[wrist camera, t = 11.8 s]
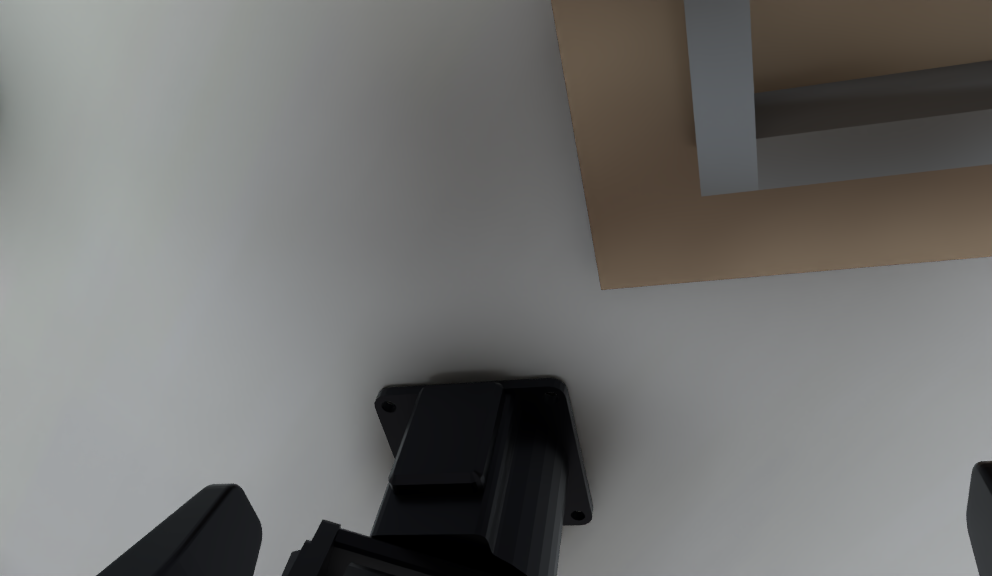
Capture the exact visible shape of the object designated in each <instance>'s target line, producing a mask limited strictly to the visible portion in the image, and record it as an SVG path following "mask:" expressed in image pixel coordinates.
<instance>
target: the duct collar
mask: <svg viewBox="0 0 992 576" xmlns="http://www.w3.org/2000/svg"><path fill="white" fill-rule="evenodd" d="M551 4H552V10H553V15H554V21H555V27H556V33H557V38H558V44H559V50H560V56H561V61H562V67H563V73H564V78H565V84H566V90H567V96H568V101H569V107H570V113H571V119H572V124H573V130H574V136H575V142H576V147H577V153H578V159H579V165H580V170H581V176H582V182H583V188H584V193H585V199H586V205H587V211H588V216H589V222H590V228H591V234H592V239H593V245H594V251H595V257H596V262H597V268H598V274H599V280H600V285H601V290H607V289H618V288H630V287H642V286H653V285H665V284H676V283H688V282H700V281H711V280H723V279H735V278H746V277H758V276H769V275H781V274H793V273H804V272H816V271H828V270H839V269H851V268H862V267H874V266H886V265H897V264H909V263H921V262H932V261H944V260H955V259H967V258H979V257H990V256H992V0H551Z"/></svg>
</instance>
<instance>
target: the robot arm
mask: <svg viewBox="0 0 992 576" xmlns="http://www.w3.org/2000/svg"><path fill="white" fill-rule="evenodd" d="M548 392H552V393H555V394H556V395H555V396H550V395H548V394H546V393H548ZM387 401H390V402H392V403H394V404H395V405H393V404H389V403H388V402H387ZM374 404H375V409H376V411H377V414H378V417H379V419H380V422H381V424H382V427H383V429H384V432H385V435H386V437H387V440H388V442H389V445H390V448H391V450H392V453H393V455H394V458H395V461H394V464H393V467H392V470H391V472H390V475H389V483H388V486H387V489H386V491H385V494H384V497H383V500H382V503H381V505H380V508H379V511H378V514H377V517H376V520H375V522H374V525H373V528H372V531H371V534H370V536H369V537H368V536H365V535H362V534H359V533H355V532H352V531H349V530H345V529H342V528H341V525H340V524H337V523H333V522H330V521H327V520H322V522H321V524H320V526H319V528H318V530H317V532H316V533H315V535H314V537H313V539H312V541H309V540H306V541H305V543H304V545H303V547H302V549H301V550H298V551H294V552H292V553H291V556H290V558H289V560H288V562H287V565H286V567H285V569H284V571H283V574H282V576H557V568H558V559H559V551H560V543H561V534H562V526H563V525H585V524H587V523H589V522H590V521H591V520H592V511H593V505H592V500H591V496H590V491H589V487H588V482H587V477H586V473H585V468H584V464H583V459H582V454H581V450H580V445H579V441H578V436H577V432H576V427H575V422H574V418H573V413H572V409H571V404H570V399H569V395H568V390H567V388H566V385H565V384H564V383H563V382H562V381H560V380H558V379H554V378H541V379H524V380H507V381H491V382H474V383H457V384H441V385H424V386H407V387H390V388H384V389H382V390H381V391H379V394H378V396H377V398H376V401H375V403H374ZM578 511H581V512H578ZM966 520H967V528H968V533H969V537H970V541H971V545H972V549H973V553H974V556H975V560H976V564H977V568H978V572H979V575H980V576H992V461H981V462H978V463H976V464H975V465H974V467H973V469H972V474H971V482H970V489H969V496H968V504H967V512H966ZM261 541H262V527H261V523H260V520H259V519H258V517H257V515H256V513H255V511H254V509H253V508H252V506H251V504H250V502H249V500H248V498H247V496H246V495H245V493H244V491H243V489H242V488H241V487H240V486H238V485H237V484H212V485H209V486H206V487H205V488H204V489H202V490H201V491H200V492H198V493H197V494H196V495H195V496H194V497H192V498H191V499H190V500H189V501H187V502H186V503H185V504H184V505H183V506H181V507H180V508H179V509H178V510H176V511H175V512H174V513H173V514H171V515H170V516H169V517H168V518H167V519H165V520H164V521H163V522H162V523H160V524H159V525H158V526H157V527H155V528H154V529H153V530H152V531H151V532H149V533H148V534H147V535H146V536H144V537H143V538H142V539H141V540H140V541H138V542H137V543H136V544H135V545H133V546H132V547H131V548H130V549H128V550H127V551H126V552H125V553H124V554H122V555H121V556H120V557H119V558H117V559H116V560H115V561H114V562H112V563H111V564H110V565H109V566H108V567H106V568H105V569H104V570H103V571H101V572H100V573H99V574H98V575H97V576H253V574H254V570H255V566H256V562H257V558H258V554H259V550H260V546H261Z"/></svg>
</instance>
